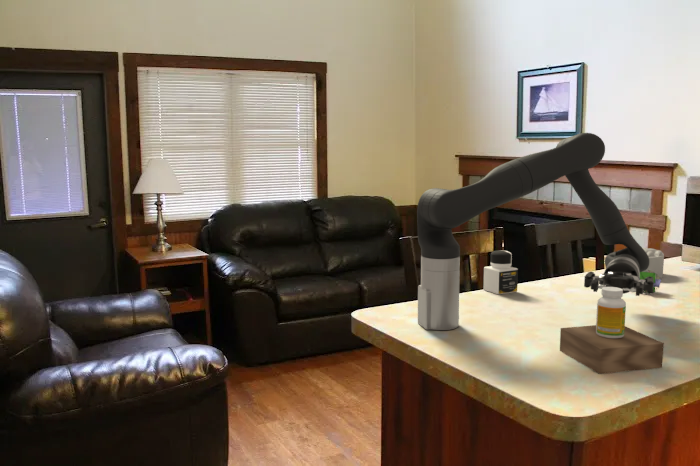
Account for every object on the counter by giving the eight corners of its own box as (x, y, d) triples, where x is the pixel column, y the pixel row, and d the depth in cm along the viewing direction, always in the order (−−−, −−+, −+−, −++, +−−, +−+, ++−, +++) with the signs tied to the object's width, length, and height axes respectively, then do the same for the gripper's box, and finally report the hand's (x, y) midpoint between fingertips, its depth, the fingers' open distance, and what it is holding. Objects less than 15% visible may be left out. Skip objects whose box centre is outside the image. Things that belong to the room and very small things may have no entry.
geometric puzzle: (657, 290, 179) (661, 265, 182) (631, 287, 182) (635, 263, 185) (659, 301, 184) (663, 276, 187) (633, 298, 188) (637, 273, 191)
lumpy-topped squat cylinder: (663, 273, 211) (665, 247, 210) (661, 281, 200) (663, 254, 198) (629, 270, 216) (631, 245, 215) (625, 278, 205) (627, 251, 203)
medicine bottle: (498, 295, 184) (499, 254, 182) (482, 289, 190) (483, 250, 188) (517, 292, 187) (519, 252, 185) (501, 287, 193) (502, 248, 192)
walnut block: (599, 374, 122) (600, 349, 122) (559, 350, 136) (560, 328, 135) (662, 367, 125) (663, 343, 125) (617, 345, 139) (618, 323, 138)
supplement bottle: (626, 339, 127) (629, 292, 125) (598, 338, 128) (600, 291, 127) (621, 331, 132) (623, 286, 131) (593, 330, 133) (596, 285, 132)
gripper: (590, 256, 154) (582, 269, 140) (655, 261, 148) (653, 275, 134) (589, 286, 155) (580, 302, 141) (653, 292, 149) (651, 309, 135)
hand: (616, 289), depth 137 cm, fingers open, 8 cm apart
